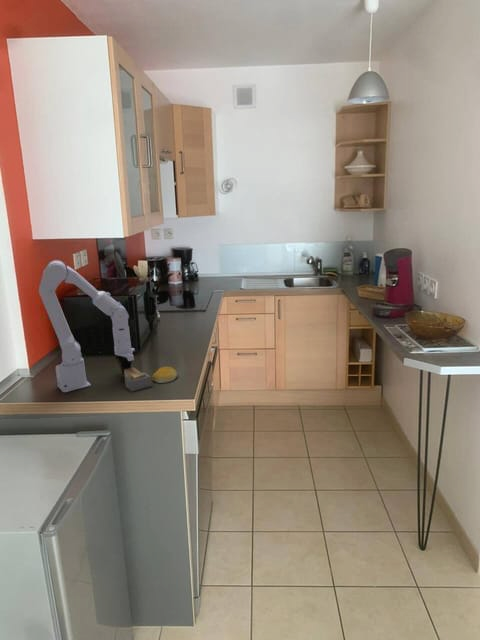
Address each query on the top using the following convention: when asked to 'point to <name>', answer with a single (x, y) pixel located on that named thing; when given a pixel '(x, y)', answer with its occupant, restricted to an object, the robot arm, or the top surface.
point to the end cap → (138, 382)
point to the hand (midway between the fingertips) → (126, 374)
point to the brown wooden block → (133, 373)
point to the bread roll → (164, 375)
